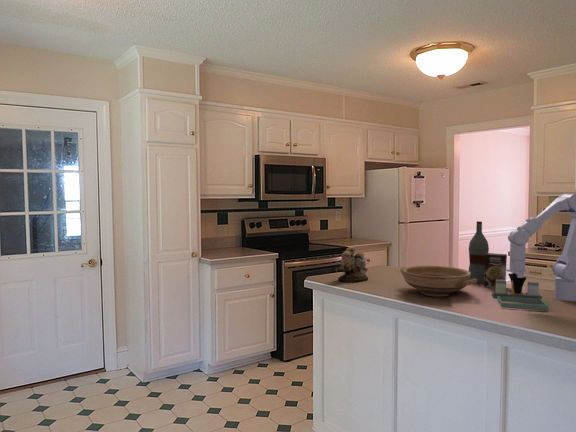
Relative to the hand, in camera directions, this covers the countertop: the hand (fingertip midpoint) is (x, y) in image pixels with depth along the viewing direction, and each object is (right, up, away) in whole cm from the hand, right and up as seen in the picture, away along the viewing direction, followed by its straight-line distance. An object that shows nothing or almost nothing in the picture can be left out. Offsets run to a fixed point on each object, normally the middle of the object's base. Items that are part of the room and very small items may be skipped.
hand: (516, 292), depth 190 cm
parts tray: (-3, -4, -11) cm, 12 cm away
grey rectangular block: (+6, -3, -2) cm, 6 cm away
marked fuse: (0, -2, 0) cm, 2 cm away
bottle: (0, -2, +38) cm, 38 cm away
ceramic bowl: (-29, -3, +13) cm, 32 cm away
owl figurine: (-61, -1, +43) cm, 75 cm away
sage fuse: (-6, -2, +2) cm, 6 cm away
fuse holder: (0, -3, 0) cm, 3 cm away
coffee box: (+1, -2, +23) cm, 23 cm away
